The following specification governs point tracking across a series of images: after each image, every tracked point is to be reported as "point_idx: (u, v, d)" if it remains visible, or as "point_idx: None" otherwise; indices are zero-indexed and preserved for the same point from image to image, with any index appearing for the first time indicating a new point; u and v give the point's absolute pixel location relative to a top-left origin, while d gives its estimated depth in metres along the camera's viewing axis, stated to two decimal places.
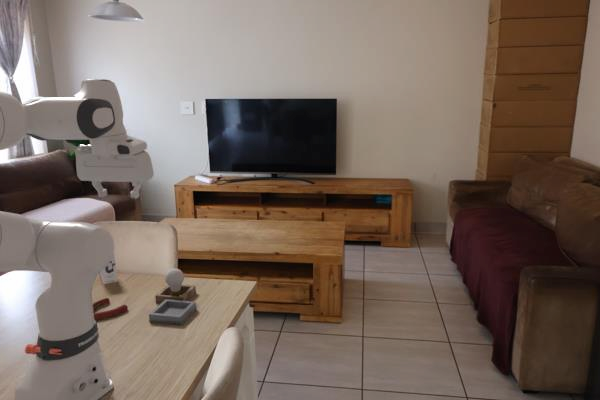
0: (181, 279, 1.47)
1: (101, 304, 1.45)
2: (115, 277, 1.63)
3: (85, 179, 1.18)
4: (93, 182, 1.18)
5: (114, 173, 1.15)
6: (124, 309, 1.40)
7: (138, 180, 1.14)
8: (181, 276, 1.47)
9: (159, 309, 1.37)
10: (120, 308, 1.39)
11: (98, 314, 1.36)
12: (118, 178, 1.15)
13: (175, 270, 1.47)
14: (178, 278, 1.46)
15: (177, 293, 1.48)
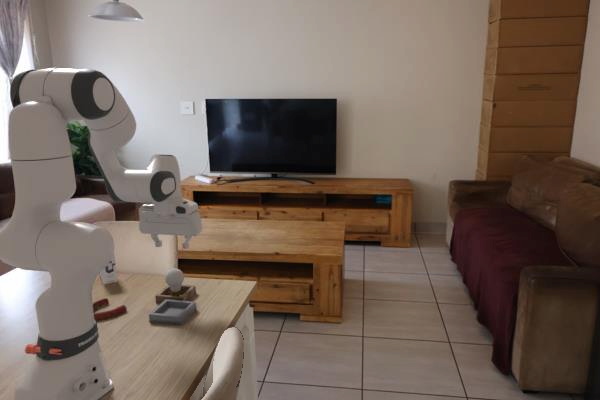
0: (181, 279, 1.47)
1: (100, 304, 1.44)
2: (115, 277, 1.63)
3: (146, 232, 1.45)
4: (152, 235, 1.45)
5: (171, 228, 1.42)
6: (123, 309, 1.40)
7: (190, 234, 1.41)
8: (181, 276, 1.47)
9: (159, 309, 1.37)
10: (119, 309, 1.39)
11: (97, 315, 1.35)
12: (173, 232, 1.42)
13: (175, 270, 1.47)
14: (178, 278, 1.46)
15: (177, 293, 1.48)
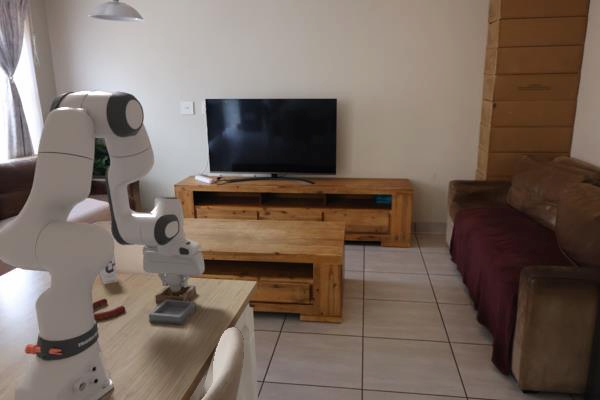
0: (181, 279, 1.47)
1: (99, 305, 1.44)
2: (115, 277, 1.63)
3: (149, 271, 1.48)
4: (159, 274, 1.48)
5: (174, 268, 1.45)
6: (121, 310, 1.39)
7: (193, 274, 1.44)
8: (181, 276, 1.47)
9: (159, 309, 1.37)
10: (117, 309, 1.39)
11: (95, 315, 1.35)
12: (177, 272, 1.45)
13: None
14: (178, 278, 1.46)
15: (177, 293, 1.48)
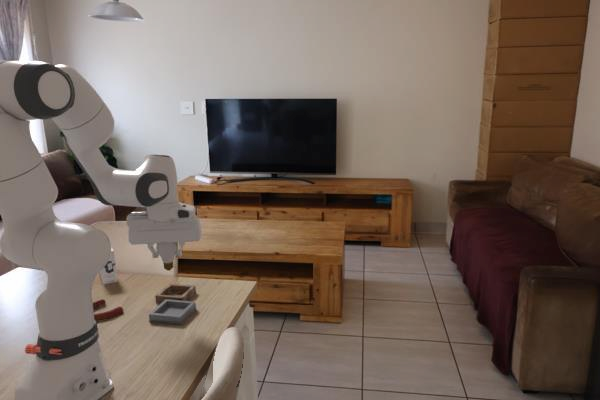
0: (176, 247, 1.32)
1: (97, 305, 1.44)
2: (115, 277, 1.63)
3: (137, 243, 1.29)
4: (149, 245, 1.31)
5: (169, 235, 1.30)
6: (119, 311, 1.39)
7: (192, 239, 1.31)
8: (176, 245, 1.32)
9: (159, 309, 1.37)
10: (115, 310, 1.38)
11: None
12: (172, 239, 1.30)
13: None
14: (174, 246, 1.31)
15: (171, 264, 1.33)
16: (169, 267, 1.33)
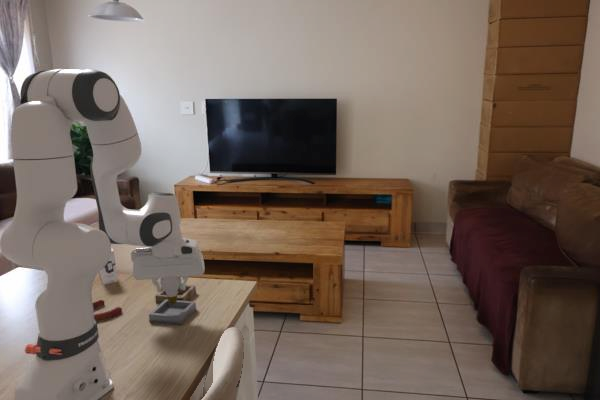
0: (180, 282, 1.35)
1: (96, 306, 1.43)
2: (115, 277, 1.63)
3: (141, 278, 1.32)
4: (153, 279, 1.33)
5: (172, 270, 1.33)
6: (118, 311, 1.39)
7: (195, 274, 1.34)
8: (180, 279, 1.35)
9: (159, 309, 1.37)
10: (114, 310, 1.38)
11: None
12: (176, 274, 1.33)
13: None
14: (178, 280, 1.34)
15: (175, 298, 1.36)
16: (173, 301, 1.36)
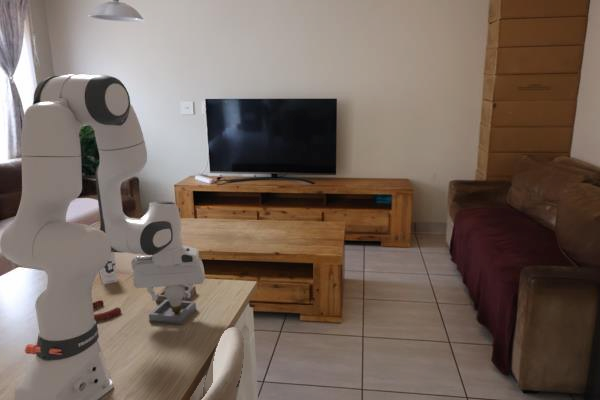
0: (184, 291, 1.36)
1: (95, 306, 1.43)
2: (115, 277, 1.63)
3: (142, 286, 1.33)
4: (148, 288, 1.34)
5: (173, 278, 1.33)
6: (117, 312, 1.38)
7: (195, 282, 1.34)
8: (184, 288, 1.36)
9: (159, 309, 1.37)
10: (113, 311, 1.37)
11: None
12: (176, 282, 1.34)
13: None
14: (182, 290, 1.34)
15: (179, 307, 1.36)
16: (177, 310, 1.36)
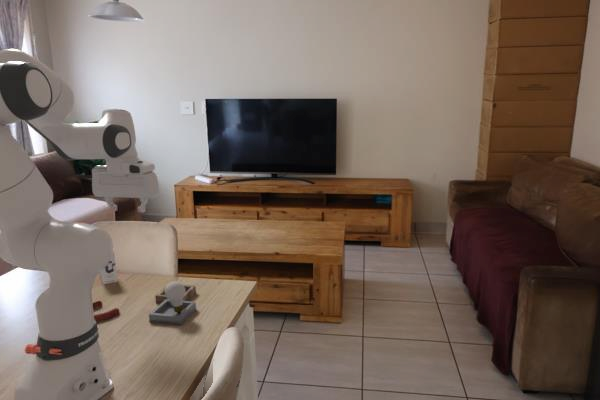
0: (184, 291, 1.35)
1: (93, 307, 1.43)
2: (115, 277, 1.63)
3: (99, 195, 1.35)
4: (106, 198, 1.36)
5: (125, 190, 1.33)
6: (115, 312, 1.38)
7: (145, 196, 1.32)
8: (184, 288, 1.35)
9: (159, 309, 1.37)
10: (111, 312, 1.37)
11: None
12: (128, 194, 1.33)
13: (175, 283, 1.35)
14: (182, 290, 1.34)
15: (181, 307, 1.36)
16: (179, 310, 1.36)
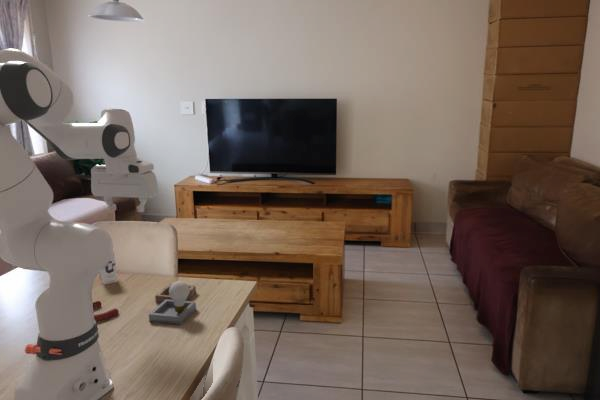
0: (188, 292, 1.36)
1: None
2: (115, 277, 1.63)
3: (98, 195, 1.35)
4: (105, 197, 1.36)
5: (124, 189, 1.33)
6: (114, 313, 1.38)
7: (144, 196, 1.32)
8: (188, 289, 1.36)
9: (159, 309, 1.37)
10: (110, 312, 1.37)
11: None
12: (127, 194, 1.33)
13: (181, 283, 1.35)
14: (186, 291, 1.34)
15: (182, 307, 1.36)
16: (180, 310, 1.36)
